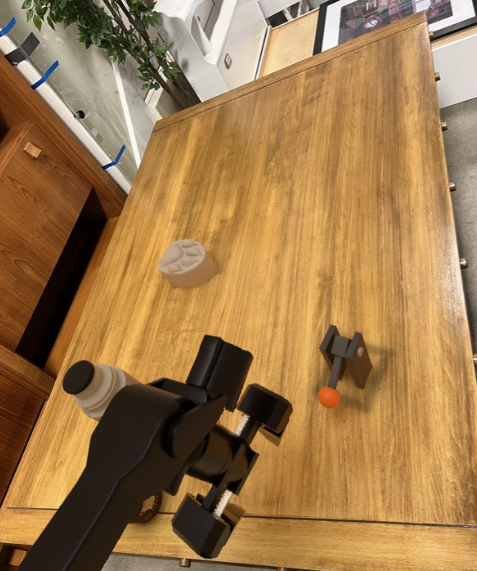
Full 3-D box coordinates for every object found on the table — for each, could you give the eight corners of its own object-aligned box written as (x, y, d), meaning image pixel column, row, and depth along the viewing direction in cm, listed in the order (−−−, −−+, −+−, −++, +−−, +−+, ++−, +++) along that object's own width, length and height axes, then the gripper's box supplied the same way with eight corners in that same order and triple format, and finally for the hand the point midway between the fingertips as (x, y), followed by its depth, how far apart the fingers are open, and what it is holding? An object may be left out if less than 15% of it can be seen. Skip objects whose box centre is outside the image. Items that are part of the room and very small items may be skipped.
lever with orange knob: (366, 411, 63) (353, 379, 54) (321, 392, 68) (302, 361, 58) (388, 357, 67) (378, 320, 57) (344, 344, 71) (328, 306, 62)
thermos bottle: (172, 408, 78) (75, 343, 57) (203, 421, 73) (110, 355, 53) (152, 448, 74) (41, 393, 54) (183, 464, 70) (76, 411, 50)
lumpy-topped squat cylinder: (185, 256, 104) (168, 234, 97) (225, 259, 97) (210, 236, 90) (167, 288, 99) (148, 267, 93) (208, 294, 92) (191, 272, 86)
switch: (340, 410, 60) (332, 412, 57) (321, 402, 61) (312, 404, 59) (358, 340, 59) (351, 340, 57) (338, 334, 61) (331, 334, 59)
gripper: (199, 345, 48) (247, 389, 60) (106, 492, 42) (179, 508, 54) (272, 381, 41) (311, 422, 53) (174, 561, 36) (241, 563, 47)
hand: (259, 476), depth 52 cm, fingers open, 9 cm apart
